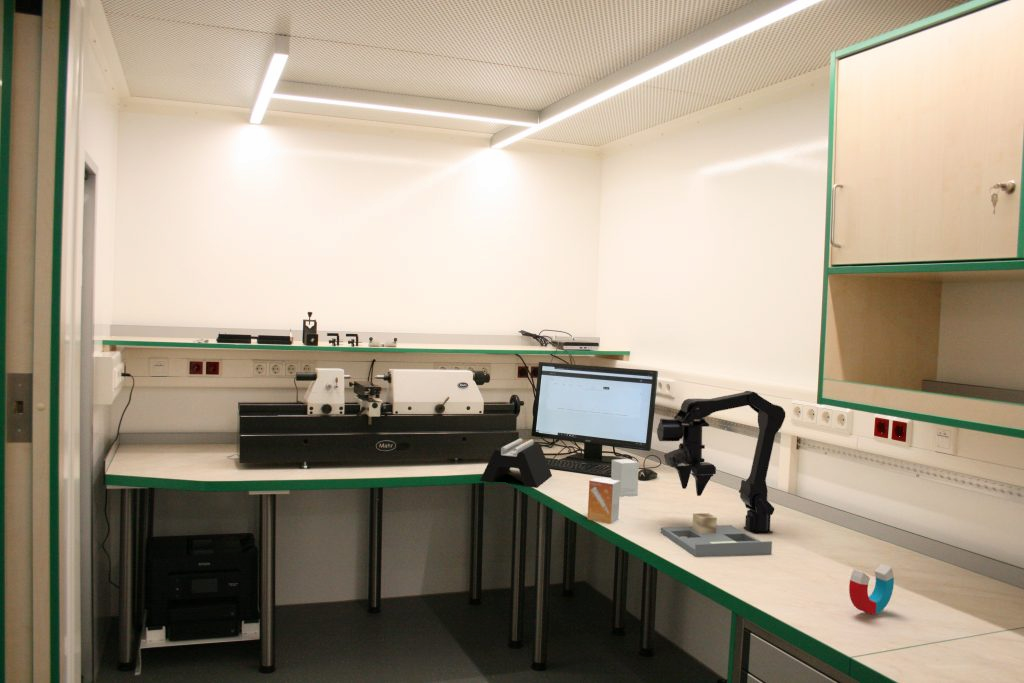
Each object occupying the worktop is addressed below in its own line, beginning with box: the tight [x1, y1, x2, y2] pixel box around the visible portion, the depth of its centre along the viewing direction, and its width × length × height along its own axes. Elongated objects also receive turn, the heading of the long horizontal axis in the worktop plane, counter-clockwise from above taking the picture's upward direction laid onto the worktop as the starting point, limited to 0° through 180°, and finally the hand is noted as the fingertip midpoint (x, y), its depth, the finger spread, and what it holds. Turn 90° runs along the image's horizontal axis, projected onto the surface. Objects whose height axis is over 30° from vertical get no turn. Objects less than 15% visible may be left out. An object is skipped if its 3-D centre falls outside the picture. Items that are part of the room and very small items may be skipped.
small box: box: [587, 477, 620, 525], centre depth 237 cm, size 8×6×13 cm
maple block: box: [692, 512, 718, 534], centre depth 223 cm, size 5×5×4 cm
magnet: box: [848, 563, 895, 615], centre depth 169 cm, size 12×3×10 cm, turn 118°
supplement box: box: [610, 458, 640, 498], centre depth 273 cm, size 7×7×13 cm
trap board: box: [660, 524, 773, 558], centre depth 218 cm, size 22×23×4 cm
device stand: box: [479, 438, 553, 489], centre depth 289 cm, size 22×22×15 cm
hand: (691, 492), depth 230 cm, fingers open, 9 cm apart
